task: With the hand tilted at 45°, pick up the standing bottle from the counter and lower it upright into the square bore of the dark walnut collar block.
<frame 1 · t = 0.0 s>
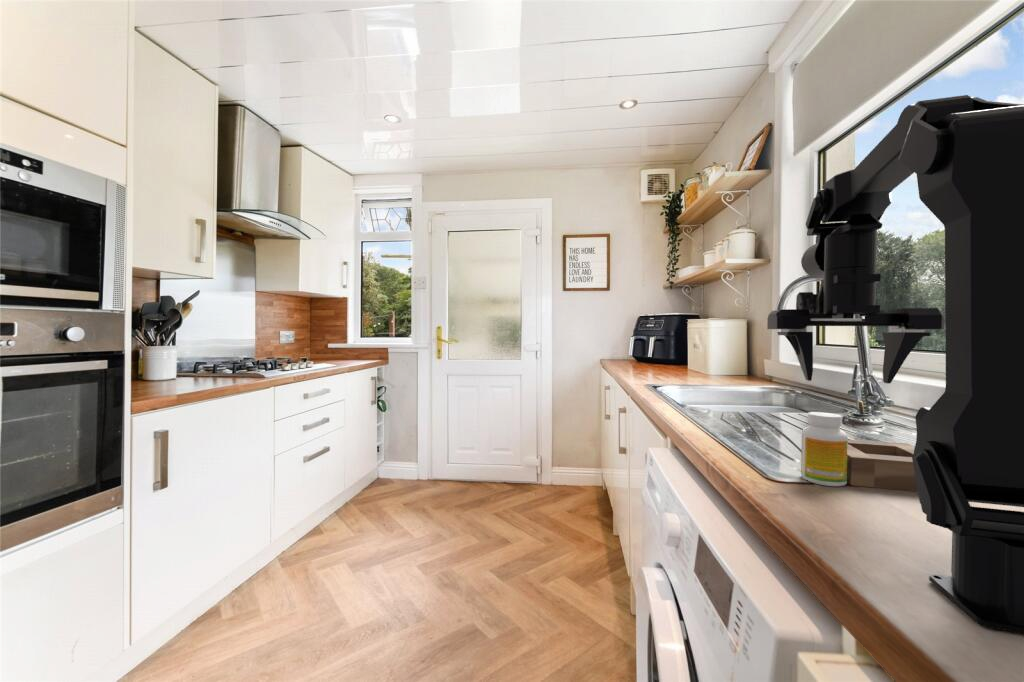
hand: (846, 381, 60), 15 cm above the countertop, tool pointing down, fingers open, 9 cm apart
walnut collar: (880, 476, 64), on the countertop
supplement bottle: (823, 482, 62), on the countertop
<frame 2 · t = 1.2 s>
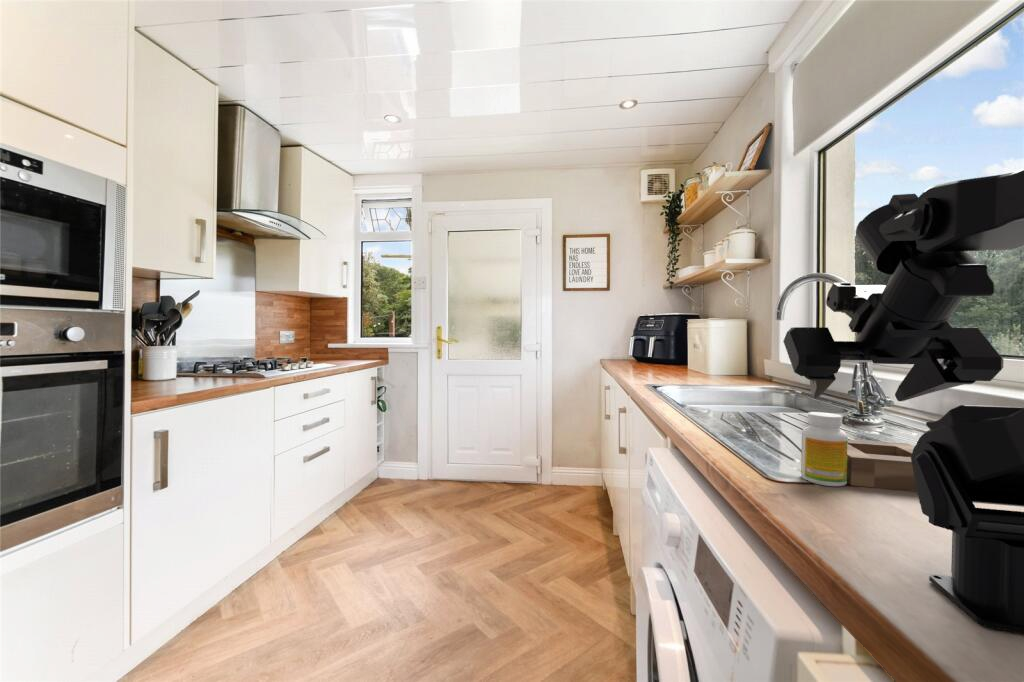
hand: (854, 396, 54), 13 cm above the countertop, tool tilted 45°, fingers open, 9 cm apart
nothing on the countertop moved.
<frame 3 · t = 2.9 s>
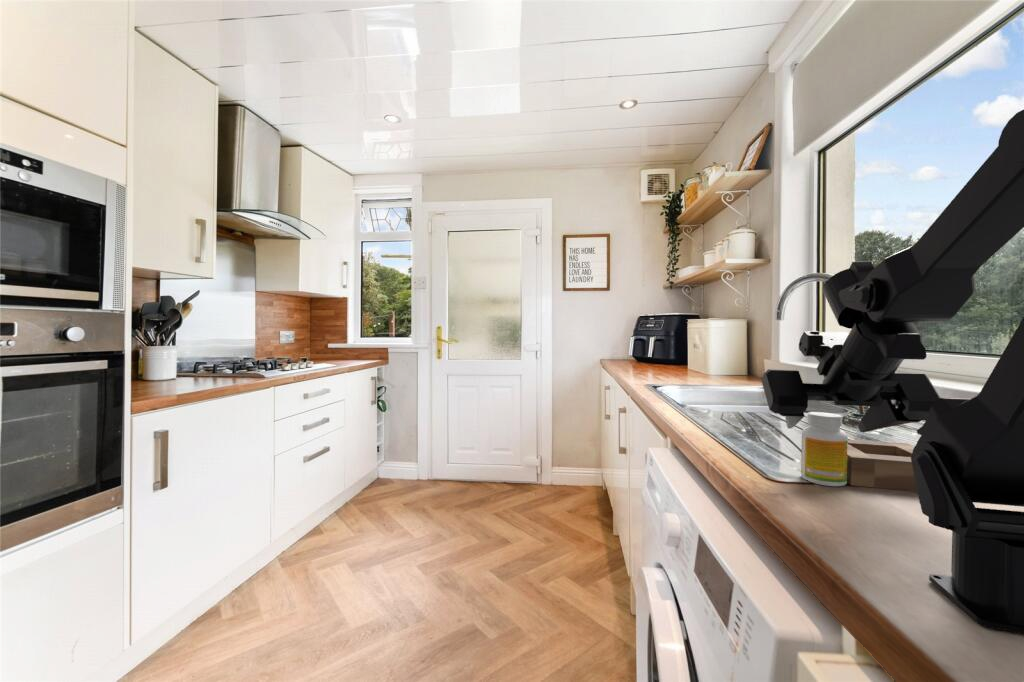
hand: (823, 427, 62), 8 cm above the countertop, tool tilted 45°, fingers open, 9 cm apart
nothing on the countertop moved.
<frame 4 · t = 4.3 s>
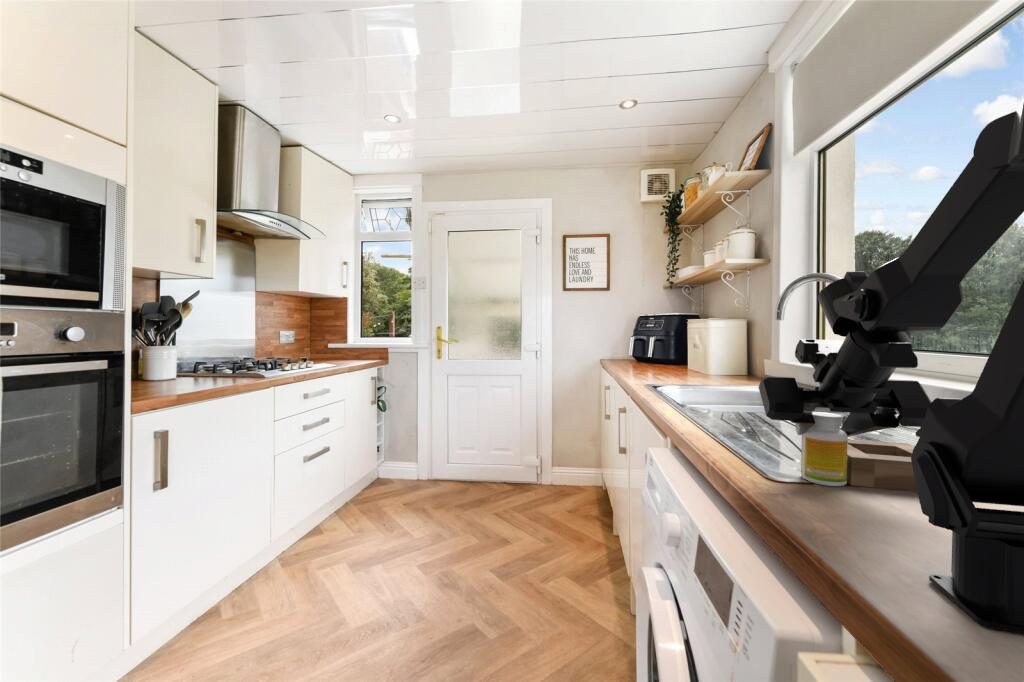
hand: (819, 433, 63), 7 cm above the countertop, tool tilted 45°, fingers closed on supplement bottle, 5 cm apart
supplement bottle: (823, 482, 62), on the countertop, touching gripper
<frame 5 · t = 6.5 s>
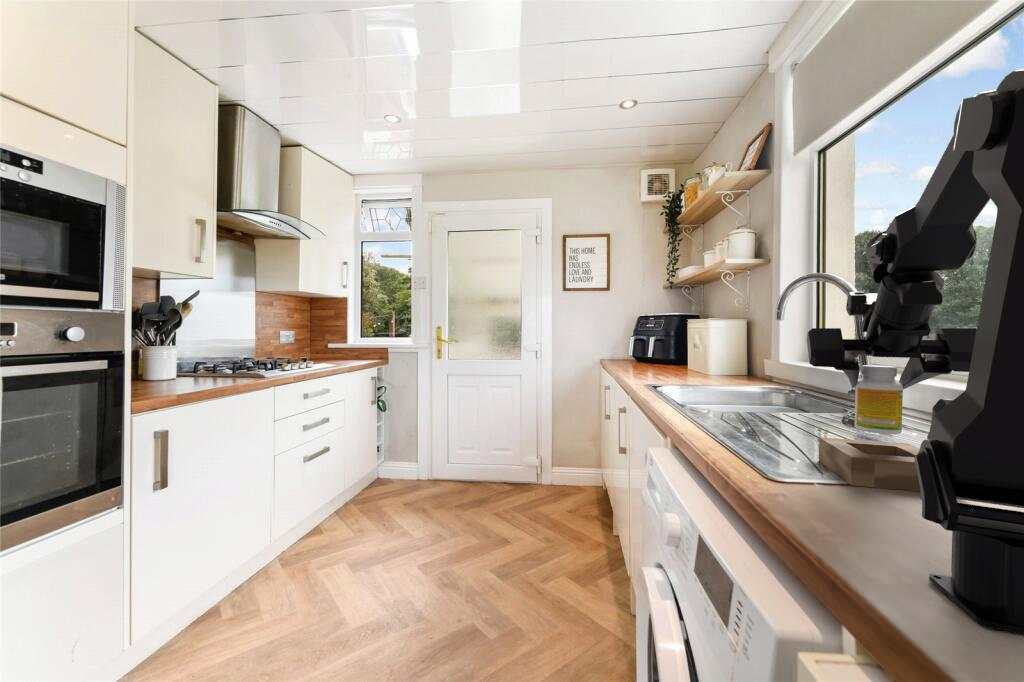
hand: (876, 385, 65), 14 cm above the countertop, tool tilted 45°, fingers closed on supplement bottle, 5 cm apart
supplement bottle: (877, 432, 64), point 7 cm above the countertop, touching gripper
when the fingers open (8 cm above the countertop, at t = 8.6 s): supplement bottle drops 1 cm, resting in walnut collar.
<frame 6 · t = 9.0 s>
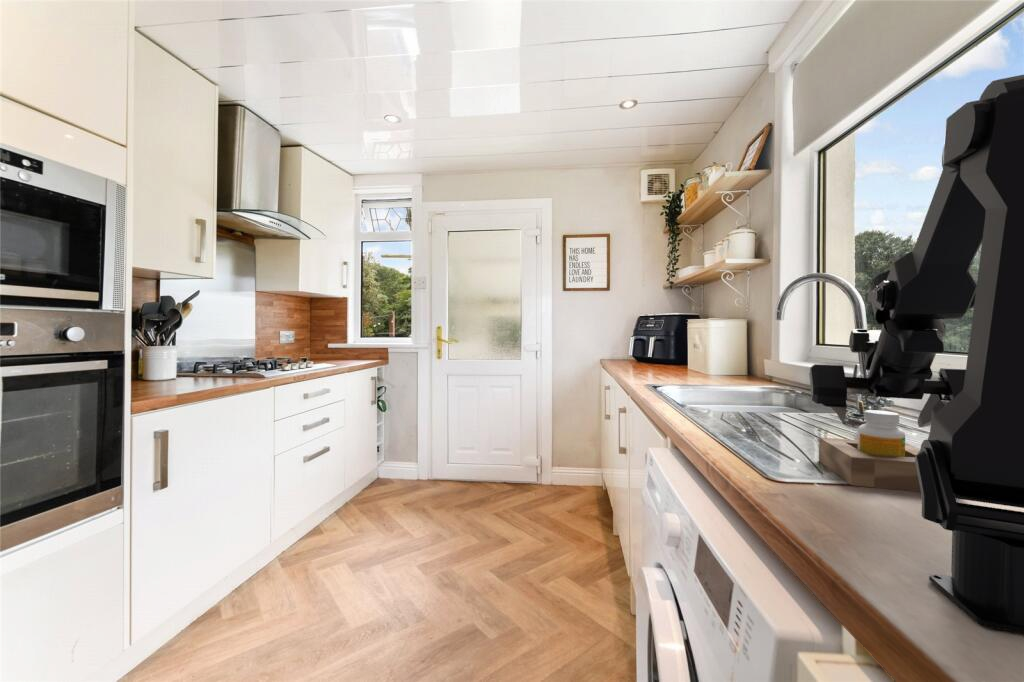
hand: (879, 421, 65), 8 cm above the countertop, tool tilted 45°, fingers open, 9 cm apart
supplement bottle: (880, 478, 64), resting in walnut collar
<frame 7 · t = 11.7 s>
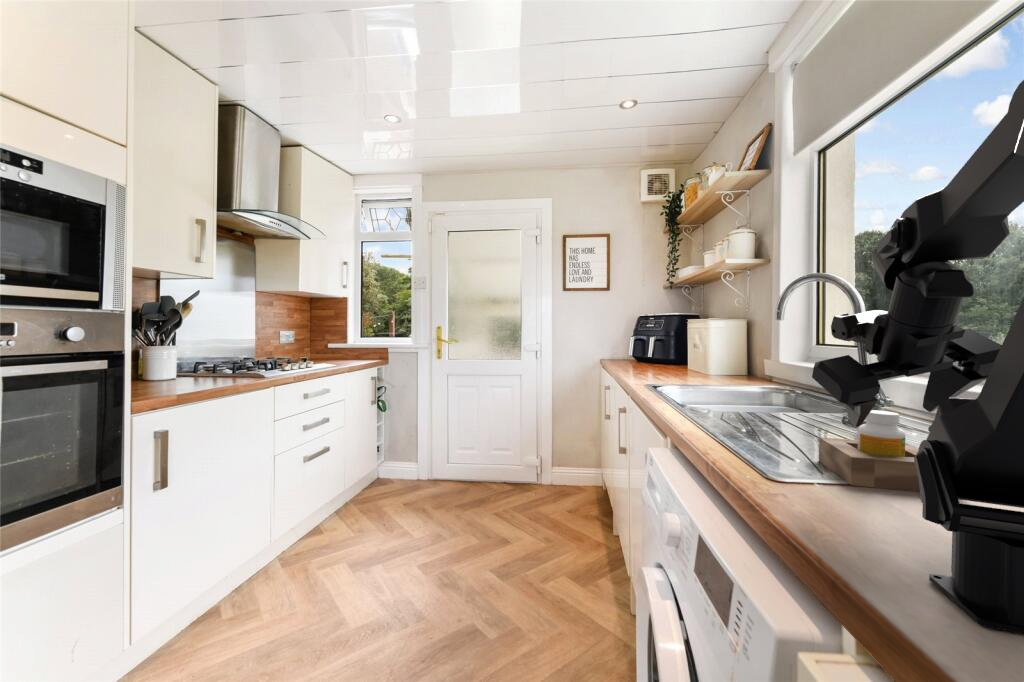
hand: (890, 417, 56), 11 cm above the countertop, tool tilted 35°, fingers open, 9 cm apart
nothing on the countertop moved.
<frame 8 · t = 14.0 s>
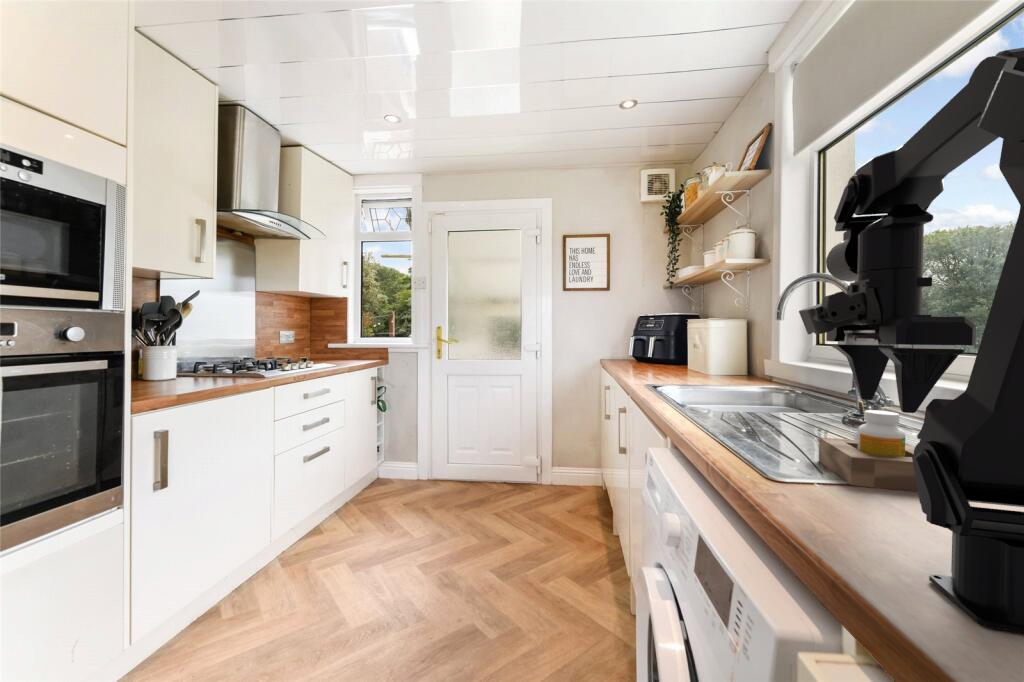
hand: (885, 405, 50), 13 cm above the countertop, tool pointing down, fingers open, 9 cm apart
nothing on the countertop moved.
at the end: supplement bottle 0.2 cm off-centre on the walnut collar, point 0.0 cm above the walnut collar's base; supplement bottle tilted 0°; the gripper is holding nothing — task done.
